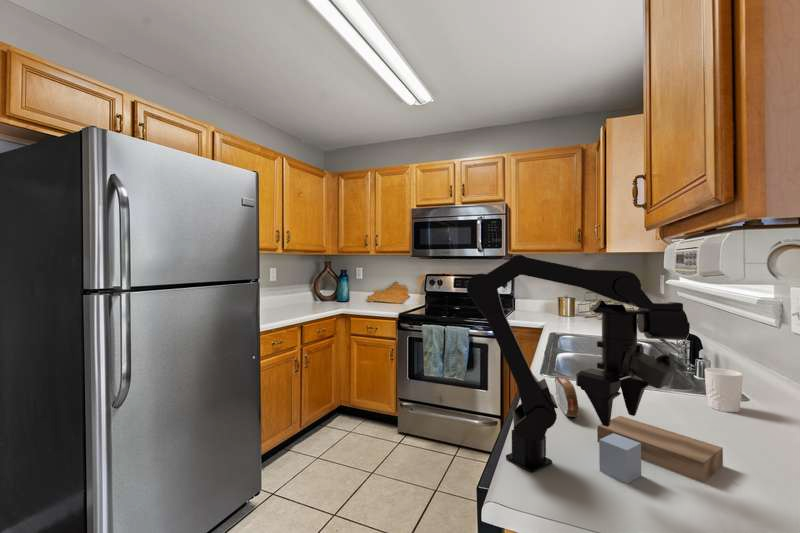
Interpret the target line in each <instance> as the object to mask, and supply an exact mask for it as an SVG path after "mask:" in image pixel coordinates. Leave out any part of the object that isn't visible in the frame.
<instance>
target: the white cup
mask: <svg viewBox="0 0 800 533" xmlns="http://www.w3.org/2000/svg"><path fill="white" fill-rule="evenodd" d="M743 376H744V373H741V371H740V372H739V371H737V370H733V369H727V368H720V367H706V368H704V383H705V393H706V394H705V395H706V400H707V401H706V402H707V406H708V407H709V408H711V409H714V410H715V411H716V410H717V411H719V412H720V411H721V412H725V413H731V414H732V413H734V412H735V413H740V412H741V404H742V403H741V402H742V394H743V378H744V377H743Z"/></svg>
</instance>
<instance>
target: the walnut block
mask: <svg viewBox="0 0 800 533" xmlns="http://www.w3.org/2000/svg"><path fill="white" fill-rule="evenodd" d="M596 429H597V440H596V441H597V443H599V439H602V438H604V437H606V436H608V435H611V434H613V433H614V434H617V435H620V436H623V437H625V438H628V439H631V440H634V441H636V442H639V443H641V460H643V461H645V462H648V463H651V464H654V465H656V466H659V467H660V468H664V469H667V470H669V471H671V472H675V473H677V474H680V475H682V476H685V477H688V478H690V479H691V480H692V479H693V480H695V481H698V482H701V483H703V484H704V483H705V482H707V481H708V480H709V479H710V478H711V477H712V476H714V474H716V473H717V472H718V471H719V470H720V469H722V468H723V466H724V459H723V458H724V457H723V456H724V452H723V451H724V450H723V449H724V448H723V446H719V445H715V444H712V443H709V442H707V441H703V440H700V439H697V438H694V437H693V438H692V437H689V436H686V435H683V434H681V433H680V434H679V433H677V432H674V431H670V430H668V429H664V428H661V427H658V426H655V425H651V424H647V423H644V422H642V421H638V420H635V419H632V418H628V417H625V416H622V415H618V416H616V417H614V418H612V419H611V420H610V425H609V426H608V427H606V426H604V425H602V423H600V424H598V425H597V427H596Z"/></svg>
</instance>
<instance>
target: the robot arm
mask: <svg viewBox="0 0 800 533" xmlns="http://www.w3.org/2000/svg"><path fill="white" fill-rule="evenodd" d="M519 276H526V277H529V278H530V277H531V278H536V279H541V280H546V281H550V282H555V283H559V284H564V285H568V286H573V287H578V288H581V289H584V290H586V291H589V292H591V293H593V294H596V295H598V296H600V297H604V298H605V299H606V298H607V299H609V300H611V301H612V300H613V301H616V302H620V303H624V304H626V305H629V306H632V307H636V308H638V309H627V308H626V307H625V305H624V304H619V303H615V304H614V303H606V302H605V301H604V300H601V299H598V301H597V302H596V303H595V304H594V305H592V306H590V308H589V310H590V312H593V313H594V314H601V340H598V341H597V342H596V347H598V348H601V361H599V362H596V368H593V367H591V368H587V369H583V370H580V371H579V372H577V373H576V374H575V385H576V386H577V387H580V390H582V391H584V392H585V394H586V397H587V398H588V399H589V401H590V404H592V407H593V409H594V412H595V413H596V416H597V417H598V419H599V421H600V424H602V425H604V426H606V427H608V426H609V425H610V420H611V418H612V412H613V403H614V400H615V399H616V398H617V397H618V396H620V395H622V396H623V397H622V398H623V402H624V404H625V408H626V411H627V414H628V415H629V416H633V417H635V416H636V414H637V411H638V408H639V405H640V403H641V401H642V398H643V395H644V393H645V390H646V388H649V387H653V388H655V389H658V390H659V389H662V388H664V387H668V386H669V385H670V383H671V381H672V379H673V377H675V376H677V374H678V372H677V367H676V364H675V358H674V357H673V356H671V355H669V354H666V353H665V354H661V355H659V356H657V357H656V356H655V355H649V354H647V353H645V350H644V349H645V347H644V345H643V343H638V332H639V333H640V334H641V333H642V334H643V335H644V337H646V339H649V340H651V339H652V340H668V341H669V340H672V341H673V340H674V341H685V340H687V339H688V337H689V334H690V330H691V329H690V326H691V324H690V322H689V320H688V316H687V313H686V312H685V310H684V303H682V302H679V301H678V302H676V301H669V302H653V301H652V300H651V299H650V297H649V296H648V295H647V294H646V293H645V291H644V290H642V284H641V281H640V279H639V277H638V276H637V275H636V274H635V273H634V272H631V271H628V270H611V269H610V270H609V269H608V270H607V269H585V268H582V267H576V266H571V265H565V264H561V263H556V262H552V261H545V260H540V259H536V258H531V257H527V256H524V255H523V254H516V255H515V254H514V255H513V256H511V257H510V258H509V260H507V261H505V262H504V263H502V264H500V265H499V266H498V267H496V268H493V269H492V270H491V271H489V272H488V273H477V274H474V275H473V276H471V277H470V278H469V279H468V281H467V283H466V292H467V295H468V296H469V298H470V300H471V301H472V302H473V303H474V305H475V306H476V308H477V310H478V311H479V312H480V313H481V314H482V316H483V317H484V318H485V320H486V321H487V324H488V325H489V328H490V330H491V331H492V334H493V336H494V337H495V340H496V342H497V344H498V347H499V349H500V351H501V353H502V355H503V358H504V361H505V362H506V364H507V366H508V368H509V371H510V373H511V375H512V377H513V380H514V381H515V383H516V386H517V387H516V388H517V391H518V394H519V399H520V404H519V405H518V406H516V407H515V408H514V409H513V410H512V418H513V419H512V422H513V423H512V424H513V429H511V452H510V453H508V454H505V459H506V460H508V461H510V462H512V463H514V464H515V465H517V466H519V467H521V468H523V469H524V470H526V471H528V472H529V473H533V472H536V471H538V470H540V469H542V468H545V467H546V466H550V465H551V464H553V459H551V458H548V457H546V456H547V436H546V433H547V431H548V429H551V428H552V427H553V426H554V425H555V423H556V420H557V412H556V409H559V407H558V406H559V405H558V403H557V402H556V399H555V396H554V395H553V394H552V393H551V392H550V389H549V386H548V384H547V381H546V378H543V379H541V380H538V378H537V377H536V375H534V373H533V371H532V369H531V367H530V365H529V362H528V361H527V358H526V356H525V354H524V351H523V350H522V348H521V346H520V344H519V342H518V340H517V337H516V335H515V333H514V330H513V329H512V327H511V324H510V321H508V318H507V316H506V314H505V312H504V308H503V304H502V301H501V296H500V292H499V289H500V288H501V287H503V286H505V285H506V284H508V283H509V282H512V280H514V279H516V278H517V277H519ZM620 389H621V392H619V391H620Z"/></svg>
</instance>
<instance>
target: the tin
mask: <svg viewBox="0 0 800 533" xmlns="http://www.w3.org/2000/svg"><path fill="white" fill-rule="evenodd" d="M554 382H555V384H554V385H555V395H556V400H557V405H558V406H559V408H560V409H561V411H562V413H563V414H564V416H565V417H567V418H578V416H579V402H578V395H577V392H576V388H575V386H574V384H573V383H572V382H571V380H569V378H568V377H567V376H566V375H561V376H560V375H559V376H558V375H557V376H555V378H554Z"/></svg>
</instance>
